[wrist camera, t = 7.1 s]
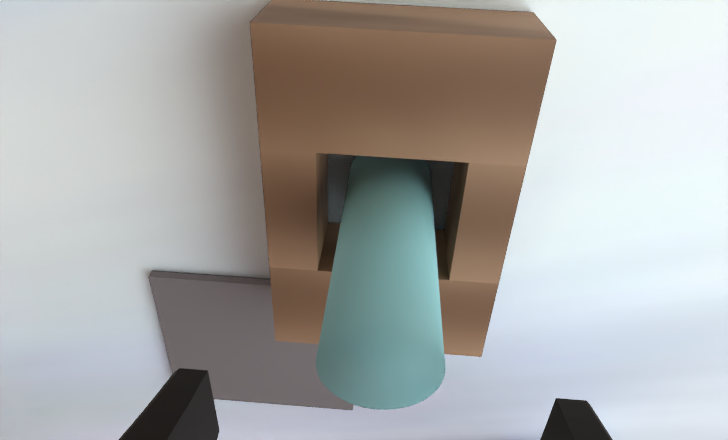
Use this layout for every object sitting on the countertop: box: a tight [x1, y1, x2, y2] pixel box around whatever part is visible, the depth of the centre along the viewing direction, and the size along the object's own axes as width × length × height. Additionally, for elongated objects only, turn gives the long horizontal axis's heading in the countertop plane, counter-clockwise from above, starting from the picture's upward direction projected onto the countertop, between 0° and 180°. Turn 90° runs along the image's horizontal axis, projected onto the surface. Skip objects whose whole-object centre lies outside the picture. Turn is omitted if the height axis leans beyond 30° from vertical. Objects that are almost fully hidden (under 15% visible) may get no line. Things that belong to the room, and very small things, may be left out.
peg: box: [316, 155, 445, 410], centre depth 16 cm, size 3×3×9 cm
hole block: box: [250, 0, 556, 357], centre depth 18 cm, size 12×8×3 cm, turn 178°
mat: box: [149, 271, 353, 410], centre depth 25 cm, size 8×9×1 cm
